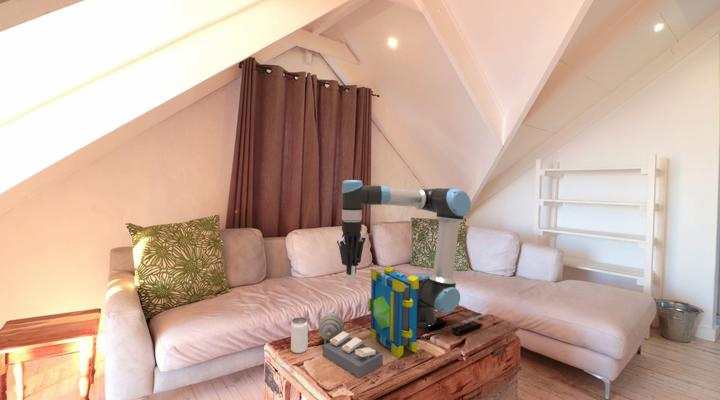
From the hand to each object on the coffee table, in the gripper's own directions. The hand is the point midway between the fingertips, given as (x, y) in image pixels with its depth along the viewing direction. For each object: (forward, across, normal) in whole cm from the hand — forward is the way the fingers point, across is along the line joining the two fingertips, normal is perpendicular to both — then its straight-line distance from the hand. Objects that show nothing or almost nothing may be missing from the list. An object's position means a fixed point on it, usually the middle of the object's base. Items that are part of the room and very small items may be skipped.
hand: (351, 282), depth 124 cm
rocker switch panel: (+28, +2, +3) cm, 29 cm away
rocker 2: (+23, +2, +3) cm, 23 cm away
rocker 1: (+23, +2, -4) cm, 23 cm away
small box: (+23, +2, +10) cm, 25 cm away
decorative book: (+29, -18, +6) cm, 34 cm away
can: (+29, +12, -17) cm, 35 cm away
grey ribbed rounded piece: (+29, -2, -14) cm, 32 cm away
